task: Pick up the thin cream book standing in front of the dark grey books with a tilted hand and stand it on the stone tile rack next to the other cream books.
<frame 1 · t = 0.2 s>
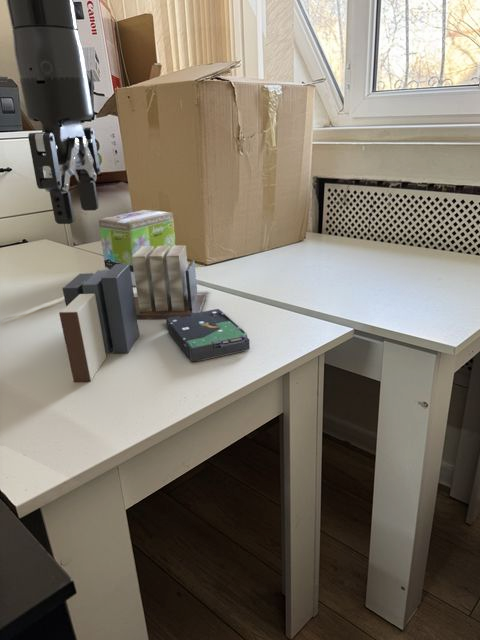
hand: (78, 216, 66), 24 cm above the table, tool pointing down, fingers open, 8 cm apart
grey books: (108, 343, 88), on the table
stone tile rack: (148, 309, 103), on the table
white book: (91, 368, 79), on the table
tea box: (143, 276, 124), on the table
disk drive: (206, 341, 88), on the table
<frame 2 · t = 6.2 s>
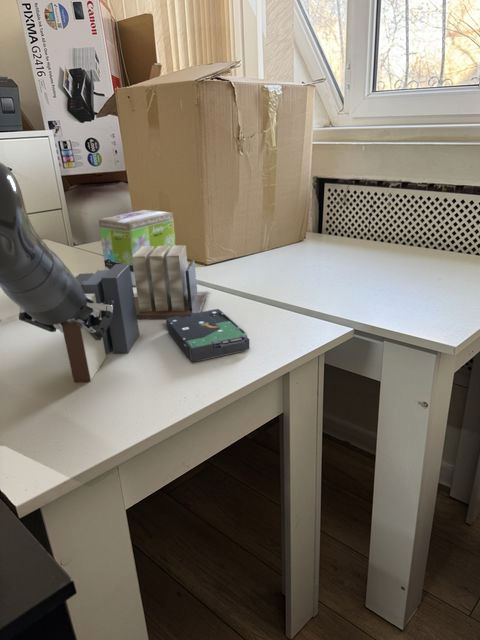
hand: (89, 334, 79), 5 cm above the table, tool tilted 45°, fingers closed on white book, 2 cm apart
white book: (91, 368, 79), on the table, touching gripper
everything else where it was.
when the fingers open (6 cm above the table, at t = 17.5 s): white book stays where it is, resting on stone tile rack.
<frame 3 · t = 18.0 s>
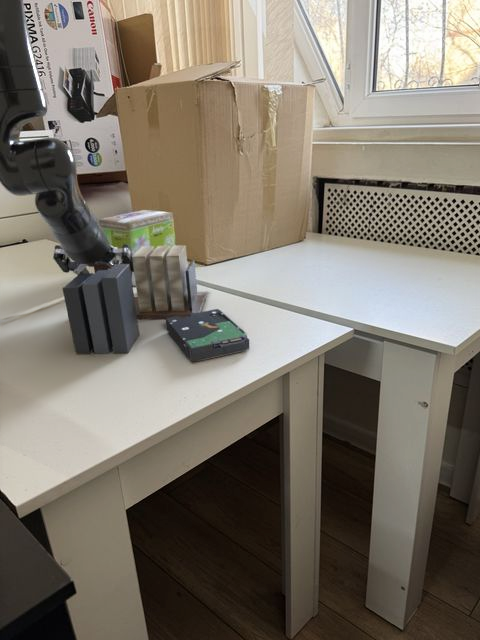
hand: (107, 277, 102), 6 cm above the table, tool tilted 45°, fingers open, 8 cm apart
white book: (114, 305, 102), point 1 cm above the table, touching stone tile rack
everything else where it was.
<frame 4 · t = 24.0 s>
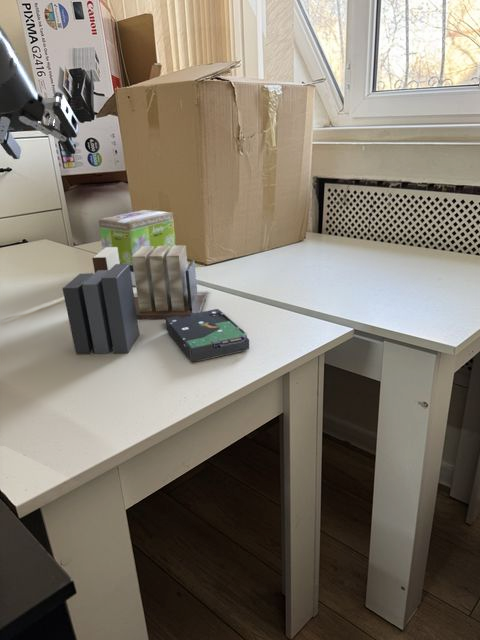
hand: (44, 153, 79), 31 cm above the table, tool tilted 45°, fingers open, 8 cm apart
nothing on the table moved.
at the end: white book 0.1 cm from the target spot on the stone tile rack, point 1.0 cm above the stone tile rack's base; white book tilted 0°; the gripper is holding nothing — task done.
